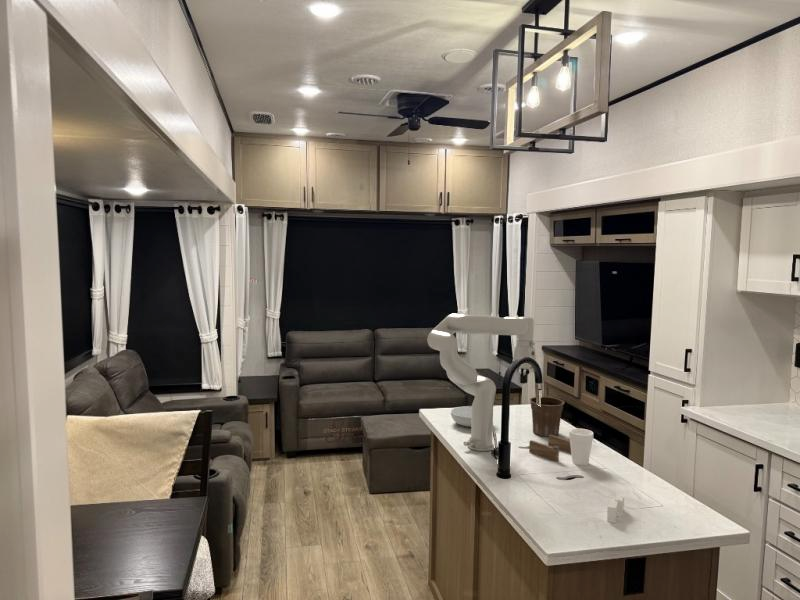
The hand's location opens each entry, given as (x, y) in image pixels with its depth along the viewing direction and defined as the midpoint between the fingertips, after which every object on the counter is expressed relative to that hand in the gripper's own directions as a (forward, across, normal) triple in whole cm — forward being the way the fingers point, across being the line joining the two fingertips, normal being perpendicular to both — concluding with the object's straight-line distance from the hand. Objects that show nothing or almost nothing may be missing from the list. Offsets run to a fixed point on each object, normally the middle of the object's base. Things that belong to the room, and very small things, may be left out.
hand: (523, 382), depth 247 cm
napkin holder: (+28, -67, +35) cm, 81 cm away
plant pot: (+27, 0, -18) cm, 33 cm away
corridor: (+27, -19, +2) cm, 33 cm away
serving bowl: (+27, +32, +1) cm, 42 cm away
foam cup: (+27, -33, +3) cm, 43 cm away
